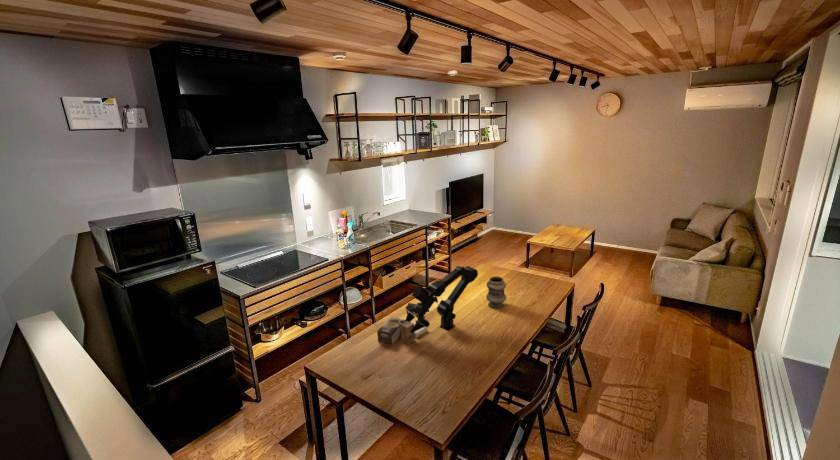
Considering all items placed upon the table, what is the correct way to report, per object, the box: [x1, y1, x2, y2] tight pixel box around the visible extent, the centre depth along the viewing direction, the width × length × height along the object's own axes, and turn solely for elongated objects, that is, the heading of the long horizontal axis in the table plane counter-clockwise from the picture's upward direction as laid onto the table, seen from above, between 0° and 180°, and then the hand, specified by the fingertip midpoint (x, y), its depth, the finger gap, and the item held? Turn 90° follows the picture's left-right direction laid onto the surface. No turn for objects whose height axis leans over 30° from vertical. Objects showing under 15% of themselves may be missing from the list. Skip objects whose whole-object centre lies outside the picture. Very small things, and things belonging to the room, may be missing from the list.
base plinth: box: [412, 321, 428, 338], centre depth 215 cm, size 9×9×2 cm
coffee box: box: [376, 316, 406, 345], centre depth 212 cm, size 9×6×16 cm
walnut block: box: [400, 321, 416, 345], centre depth 205 cm, size 5×5×10 cm
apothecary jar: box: [486, 275, 507, 310], centre depth 237 cm, size 12×12×18 cm
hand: (407, 328), depth 205 cm, fingers open, 8 cm apart
